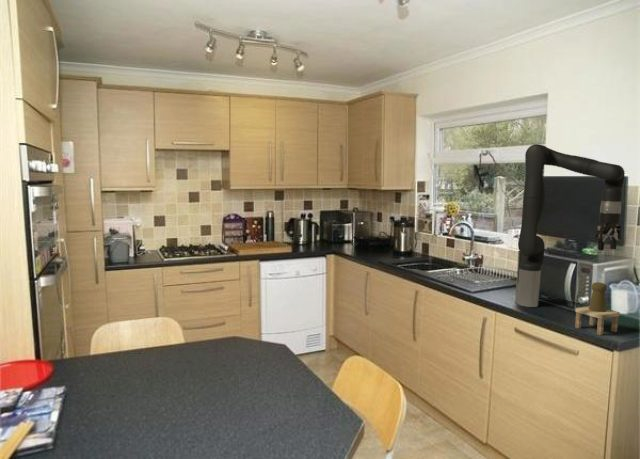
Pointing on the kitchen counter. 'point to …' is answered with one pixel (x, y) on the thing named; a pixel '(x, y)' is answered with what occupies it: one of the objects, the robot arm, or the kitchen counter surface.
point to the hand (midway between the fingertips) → (606, 249)
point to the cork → (598, 297)
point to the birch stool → (600, 316)
